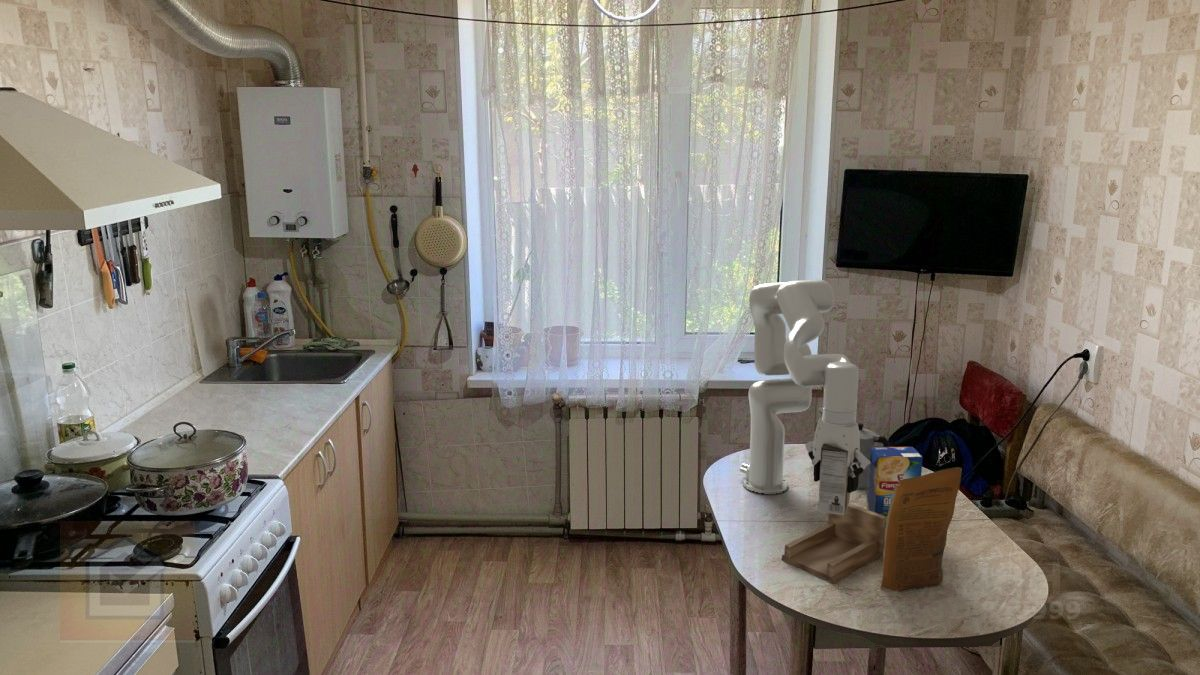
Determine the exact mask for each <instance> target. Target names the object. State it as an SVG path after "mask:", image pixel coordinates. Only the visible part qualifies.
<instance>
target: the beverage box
mask: <svg viewBox="0 0 1200 675" xmlns="http://www.w3.org/2000/svg"><path fill="white" fill-rule="evenodd" d="M923 459H924V456H923V455H922V454H920V452H919V451H918V450H917V449H916V448H914V447H913V446H890V447H883V446H880V447H878V446H877V447H876V446H875V447H870V459H869V461H870V465H869V473H868V487H867V488H866V489H867V490H866V504H865V509H866V510H869V511H872V512H874V513H877V514H880V515H883V516H885V517H886V521H887V516H888V511H889V507H890V504H891V499H892V495H893V492H894V488H895V485H900V484H899V480H903V479H907V478H913V477H918V476H922V470H923V469H922V468H923ZM885 531H886V524H885ZM884 540H885V537H884Z"/></svg>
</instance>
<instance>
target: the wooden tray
mask: <svg viewBox="0 0 1200 675" xmlns="http://www.w3.org/2000/svg"><path fill="white" fill-rule="evenodd" d="M885 524H886V517H885V516H883V515H880V514H877V513H874V512H872V511H869V510H866V508H864V507H861V506H858V505H854V504H852V503H850V502H849V504H848V507H847V510H846V513H845V515H838V514H831V513H827V523H826V524H824V525H822V526H820V527H818V528H815V529H814V530H812V531H810V532H807V533H806V534H804V535H802V536H800V537H798V538H796V539H794V540H792V541H790V542H788V543H786V544H784V554H781V561H783V560H784V562H785V561H786V562H785V563H788V564H790V565H792V564H793V565H792V566H794V567H797V568H799V569H801V570H803V571H806V572H808V573H811V575H815V576H816V577H819V578H822V579H824V580H825V581H829V582H831V583H833V584H836V583H838V582H840V581H841V580H843V579H845V578H846V577H847V578H848V576H850V575H852V574H854V573H855V572H858V571H859V570H861V569H862V568H864V567H866V566H868V565H869V564H871V563H873V562H875V561H876V560H878V559H879V558H881V557H884V543H885V539H884V537H885Z"/></svg>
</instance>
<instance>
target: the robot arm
mask: <svg viewBox="0 0 1200 675" xmlns="http://www.w3.org/2000/svg"><path fill="white" fill-rule="evenodd" d="M835 296H836V295H835V291H834V289H833V287H832V286H831V284H830V283H829V282H828V281H826V280H824V279H809V280H808V279H807V280H805V279H804V280H791V281H787V282H786V281H784V282H768V283H761V284H760V283H759V284H758V285H755V286H754V287H752V289H751V291H750V294H749V298H748V304H749V311H750V314H751V317H752V320H753V324H754V326H753V327H754V344H753V345H754V353H753V354H754V360H753V361H754V368H755V370H756V372H757V373H758V374H759V375H761V376H768V377H769V376H771V377H772V376H786V375H789V376H790V378H773V379H762V380H759V381H755V382H754V383H752V384H751V385H750V387H749V390H748V394H747V395H748V404H749V411H750V412H749V413H750V439H749V440H750V442H749V464H748V463H742V465H741V467H740V468H739V471H740V473H742V474H745V477H744V479H743V484H744V485H743V487H744V486H745V487H746V488H745V487H744V488H745V489H747V490H748V489H749V490H748V491H750V490H752V491H755V492H754V493H756V492H758V493H757V494H761V493H764V494H763V495H776V493H777V494H781V493H783V491H784V492H785V491H786V490H788V488H787V487H788V485H789V484H788V483H789V482H788V481H787V480H786V479H785V478H783V477H784V457H785V435H786V434H785V433H786V431H785V430H786V429H785V426H784V424H783V422H782V421H781V419H779V417H778V414H785V413H786V414H788V413H799V412H800V413H801V412H804V411H807V410H809V408H810V406H811V405H812V404H811V403H812V395H813V392H812V391H813V387H823V397H822V398H823V401H822V405H819V407H818V411H819V412H821V417H819V419H818V421H817V424H816V428H815V433H814V440H812V441H811V440H810V441H808V442H806V443H805V444H804V445H805V449H806V451H807V455H808V457H809V458H810V460H811V464H812V465H813V481H814V482H818V481H819V482H820V463H821V447H822V445H823V444H827V445H830V446H833V447H836V448H840V449H843V450H846V451H848V461H847V467H849V468H848V472H849V474H850V476H849V477H848V482H847V492H848V493H850V494H853V493H854V492H855V491H857V490H858V489H859V488H858V479H859V475H860V474H861V473H863V472H864V471H866V469H867V468H868V466H869V465H870V461H869V460H868V459H867V458H866V457H865V456H864V455H863V454H862V453H861V452H860V437H859V428H858V424H859V423H858V422H857V406H858V391H859V378H860V377H859V376H860V374H859V367H858V366H857V365H856V364H854V363H852V362H851V361H850V359H849V358H848V357H847V356H846V355H845V354H843V353H842V354H841V353H827V354H825V353H822V354H821V353H819V354H812V350H811V348H810V346H809V344H808V343H810V342H813V341H814V340H816V339H817V338H819V337H820V336H821V335H822V334H823V332H824V329H825V327H826V322H825V320H824V318H823V316H822V313H827V312H830V311H831V310H832V309H833V307H834V305H835V301H836V300H835V299H836V297H835ZM781 315H783V317H784V319H785V321H786V322H785V321H784V320H783V317H782V316H781ZM786 324H787V326H788V329H789V331H790V332H789V334H788V335H786V334H787V333H786V332H787V328H786ZM786 336H787V337H786ZM859 461H860V463H861V465H860V467H859V466H858V465H857V463H858V462H859ZM852 467H853V468H852ZM853 469H854V470H853ZM752 491H751V492H752Z"/></svg>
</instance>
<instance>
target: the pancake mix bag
mask: <svg viewBox="0 0 1200 675" xmlns="http://www.w3.org/2000/svg"><path fill="white" fill-rule="evenodd" d="M962 471H963V470H962V467H958V466H956V467H950V468H944V469H941V470H937V471H933V472H930V473H927V474H923V475H921V476H918V477H913V478H907V479H903V480H899V484H900V485H895V488H894V492H893V495H892V499H891V504H890V507H889V511H888V516H887V521H886V531H885V539H884V550H883V559H882V578H881V583H880V584H881V585H880V588H881V589H885V590H887V591H888V590H889V591H891V592H905V591H910V590H916V589H923V588H928V587H935V586H940V585H941V584H942V583H943V580H944V572H943V558H944V553H945V549H946V546H947V538H948V529H949V527H950V524H951V521H952V519H953V515H954V513H955V506H956V500H957V495H958V493H959V491H960V490H959V489H960V487H961V486H960V485H961V479H962Z"/></svg>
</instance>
